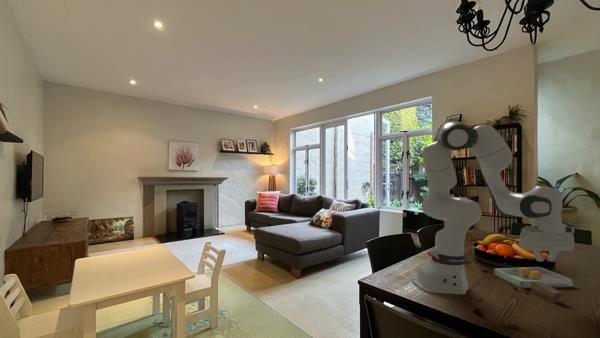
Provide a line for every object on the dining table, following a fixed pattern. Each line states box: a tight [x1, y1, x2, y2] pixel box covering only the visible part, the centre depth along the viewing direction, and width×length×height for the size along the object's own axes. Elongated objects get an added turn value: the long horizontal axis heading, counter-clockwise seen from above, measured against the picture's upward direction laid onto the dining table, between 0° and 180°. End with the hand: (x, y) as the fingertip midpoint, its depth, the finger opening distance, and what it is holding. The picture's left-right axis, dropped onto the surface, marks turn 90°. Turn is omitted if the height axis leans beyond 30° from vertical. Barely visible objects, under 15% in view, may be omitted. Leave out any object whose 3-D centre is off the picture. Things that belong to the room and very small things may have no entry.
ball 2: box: [530, 271, 542, 280], centre depth 117 cm, size 4×4×4 cm
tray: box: [493, 267, 539, 289], centre depth 118 cm, size 8×14×3 cm, turn 3°
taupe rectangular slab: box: [530, 281, 564, 304], centre depth 103 cm, size 4×10×4 cm, turn 177°
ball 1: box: [519, 266, 531, 276], centre depth 121 cm, size 4×4×4 cm
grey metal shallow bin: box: [510, 266, 574, 288], centre depth 119 cm, size 15×14×3 cm
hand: (545, 261), depth 104 cm, fingers open, 3 cm apart
